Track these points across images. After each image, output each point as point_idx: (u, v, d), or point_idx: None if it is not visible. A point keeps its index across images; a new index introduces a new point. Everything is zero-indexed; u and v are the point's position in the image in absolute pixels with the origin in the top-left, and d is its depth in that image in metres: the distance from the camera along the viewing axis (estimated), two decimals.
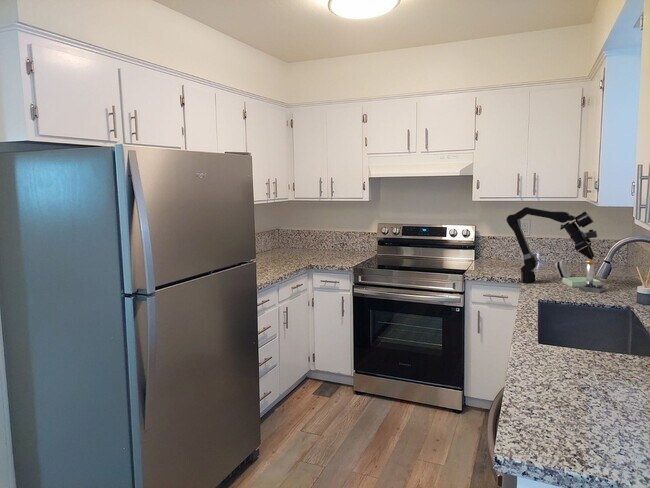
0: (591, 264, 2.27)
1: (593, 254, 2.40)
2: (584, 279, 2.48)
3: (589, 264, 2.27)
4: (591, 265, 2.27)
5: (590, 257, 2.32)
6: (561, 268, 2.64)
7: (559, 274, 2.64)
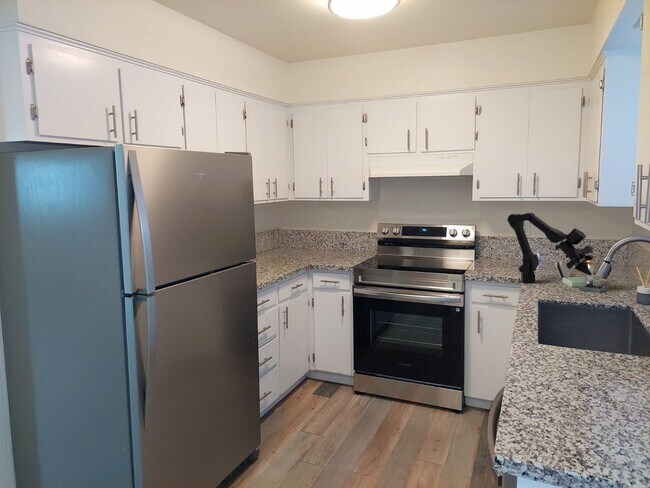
0: (591, 264, 2.27)
1: (593, 271, 2.28)
2: (584, 279, 2.48)
3: (589, 264, 2.27)
4: (591, 265, 2.27)
5: (588, 273, 2.27)
6: (561, 268, 2.64)
7: (559, 274, 2.64)
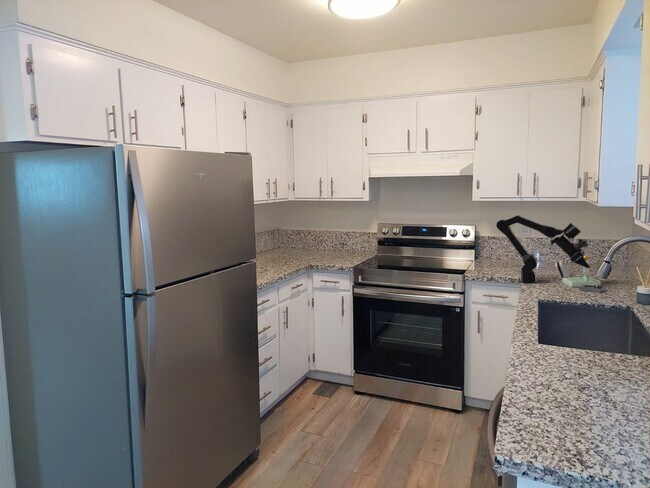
0: (588, 259, 2.39)
1: None
2: None
3: (586, 259, 2.39)
4: (588, 260, 2.39)
5: (587, 266, 2.36)
6: (561, 268, 2.63)
7: (559, 274, 2.64)
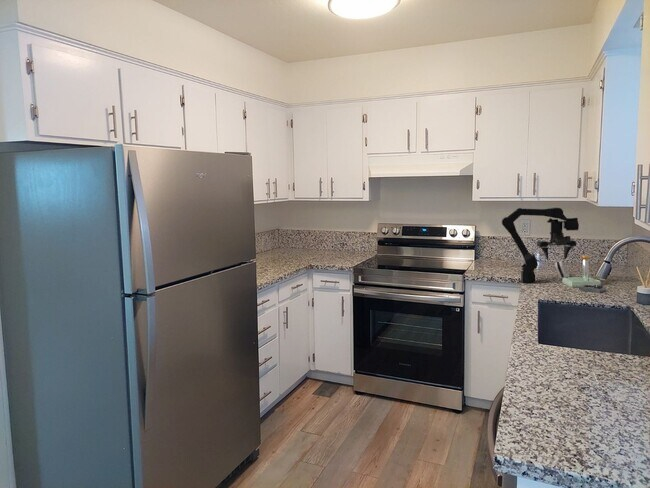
0: (587, 259, 2.39)
1: (565, 257, 2.48)
2: None
3: (586, 259, 2.39)
4: (587, 260, 2.39)
5: (546, 257, 2.50)
6: (561, 268, 2.63)
7: (559, 274, 2.63)
